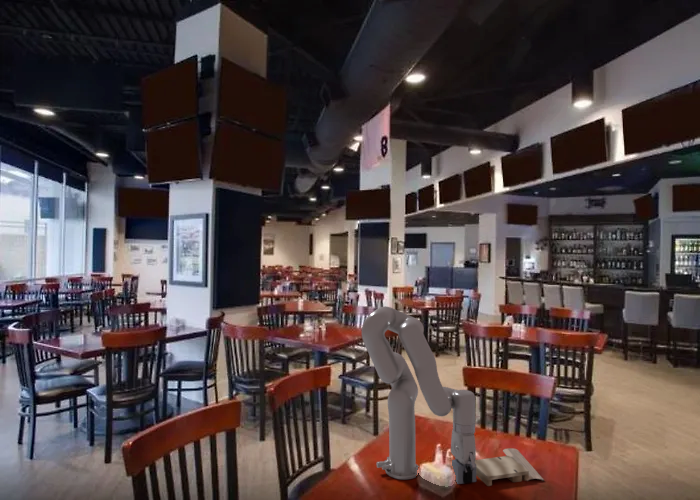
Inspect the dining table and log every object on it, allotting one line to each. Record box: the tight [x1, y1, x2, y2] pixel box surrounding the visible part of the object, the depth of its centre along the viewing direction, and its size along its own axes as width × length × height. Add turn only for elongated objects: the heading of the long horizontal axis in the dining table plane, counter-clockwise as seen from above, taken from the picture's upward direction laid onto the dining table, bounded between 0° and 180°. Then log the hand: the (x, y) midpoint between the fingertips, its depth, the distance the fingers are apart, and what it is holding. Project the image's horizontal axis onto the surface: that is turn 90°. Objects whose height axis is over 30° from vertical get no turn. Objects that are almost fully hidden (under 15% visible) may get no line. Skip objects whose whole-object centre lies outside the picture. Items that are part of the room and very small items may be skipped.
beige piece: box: [502, 448, 545, 482], centre depth 167 cm, size 24×7×2 cm, turn 1°
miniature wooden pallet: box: [475, 455, 529, 487], centre depth 160 cm, size 16×12×3 cm
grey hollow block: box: [452, 459, 477, 485], centre depth 157 cm, size 7×5×6 cm
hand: (463, 477), depth 157 cm, fingers closed on grey hollow block, 5 cm apart
